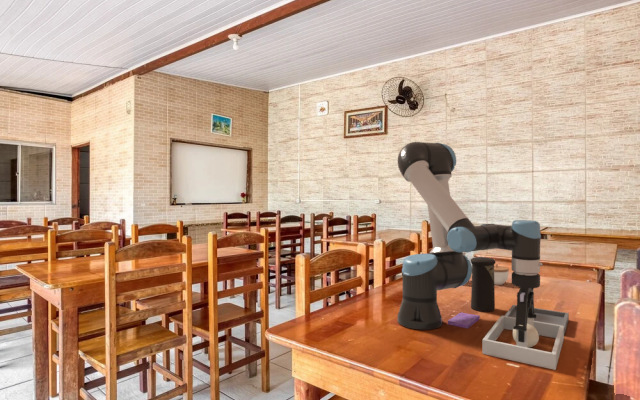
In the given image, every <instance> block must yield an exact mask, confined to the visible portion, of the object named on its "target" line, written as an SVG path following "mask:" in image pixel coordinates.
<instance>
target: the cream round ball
mask: <svg viewBox="0 0 640 400" xmlns="http://www.w3.org/2000/svg"><path fill="white" fill-rule="evenodd" d="M520 326H523V325H520ZM512 338H513V340H514V341H515V343H516V329H513V330H512ZM539 340H540V335H539V334H538V332H537V330H536V329H535V328H534V327H533V326H532V325H530V324H527V348H532V347H535V346H536V345H537V344H538V343H539Z"/></svg>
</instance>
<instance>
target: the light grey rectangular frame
mask: <svg viewBox="0 0 640 400" xmlns="http://www.w3.org/2000/svg"><path fill="white" fill-rule="evenodd" d="M515 325H516V318H514V317H508V316H505V315H500V317H499V318H498V319H497V321H496V322H495V323H494V324H493V326H492V327H491V328H490V329H489V331H488V332H487V333H486V334H485V336H484V337H483V338H482V341H481V342H482V346H481V347H482V352H481V353H482V354H483V355H487V356H491V357H495V358H500V359H504V360H510V361H513V362H518V363H523V364H527V365H531V366H536V367H540V368H545V369H550V370H554V371H556V369H557V366H558V362H559V360H560V359H559V358H560V355H561V350H562V348H563V343H564V337H565V336H564V326H562V325H556V324H550V323H544V322H538V321H534V328H535V329H536V330H537V332H538V334H539V336H542V337H547V338H548V337H549V338H553V339H555V341H554V345H553V347H552V349H551V350H552V351H551V352H550V351H545V350H541V349H536V348H532V347H522V346H517V345H516V344H511V343H507V342H501V341H497V340H498V338H499V337H500V336H501V334H502V332H503V331H504V330H510V331H513V329H514V328H513V327H514V326H515Z"/></svg>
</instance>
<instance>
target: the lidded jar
mask: <svg viewBox="0 0 640 400" xmlns="http://www.w3.org/2000/svg"><path fill="white" fill-rule="evenodd" d="M509 270H510V269H509V267H506V266H502V265H498V264H497V263H495V265H494V286H501V285H504V283H506V282H507V280H508V278H509Z"/></svg>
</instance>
